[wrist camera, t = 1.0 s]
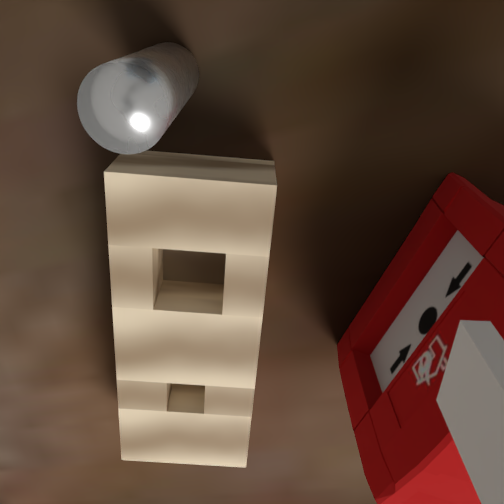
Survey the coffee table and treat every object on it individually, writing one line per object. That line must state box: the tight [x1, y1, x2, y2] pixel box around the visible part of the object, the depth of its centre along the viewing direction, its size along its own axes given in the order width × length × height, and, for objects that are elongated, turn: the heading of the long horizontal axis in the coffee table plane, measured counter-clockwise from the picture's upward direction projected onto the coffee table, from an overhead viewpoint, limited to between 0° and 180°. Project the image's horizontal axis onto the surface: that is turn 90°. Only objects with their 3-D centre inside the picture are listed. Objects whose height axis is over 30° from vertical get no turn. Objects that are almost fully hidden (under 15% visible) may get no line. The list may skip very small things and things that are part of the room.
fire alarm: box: [337, 172, 504, 504], centre depth 30 cm, size 16×11×15 cm
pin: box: [77, 42, 199, 154], centre depth 24 cm, size 4×4×12 cm
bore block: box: [104, 151, 277, 467], centre depth 35 cm, size 24×10×5 cm, turn 175°
